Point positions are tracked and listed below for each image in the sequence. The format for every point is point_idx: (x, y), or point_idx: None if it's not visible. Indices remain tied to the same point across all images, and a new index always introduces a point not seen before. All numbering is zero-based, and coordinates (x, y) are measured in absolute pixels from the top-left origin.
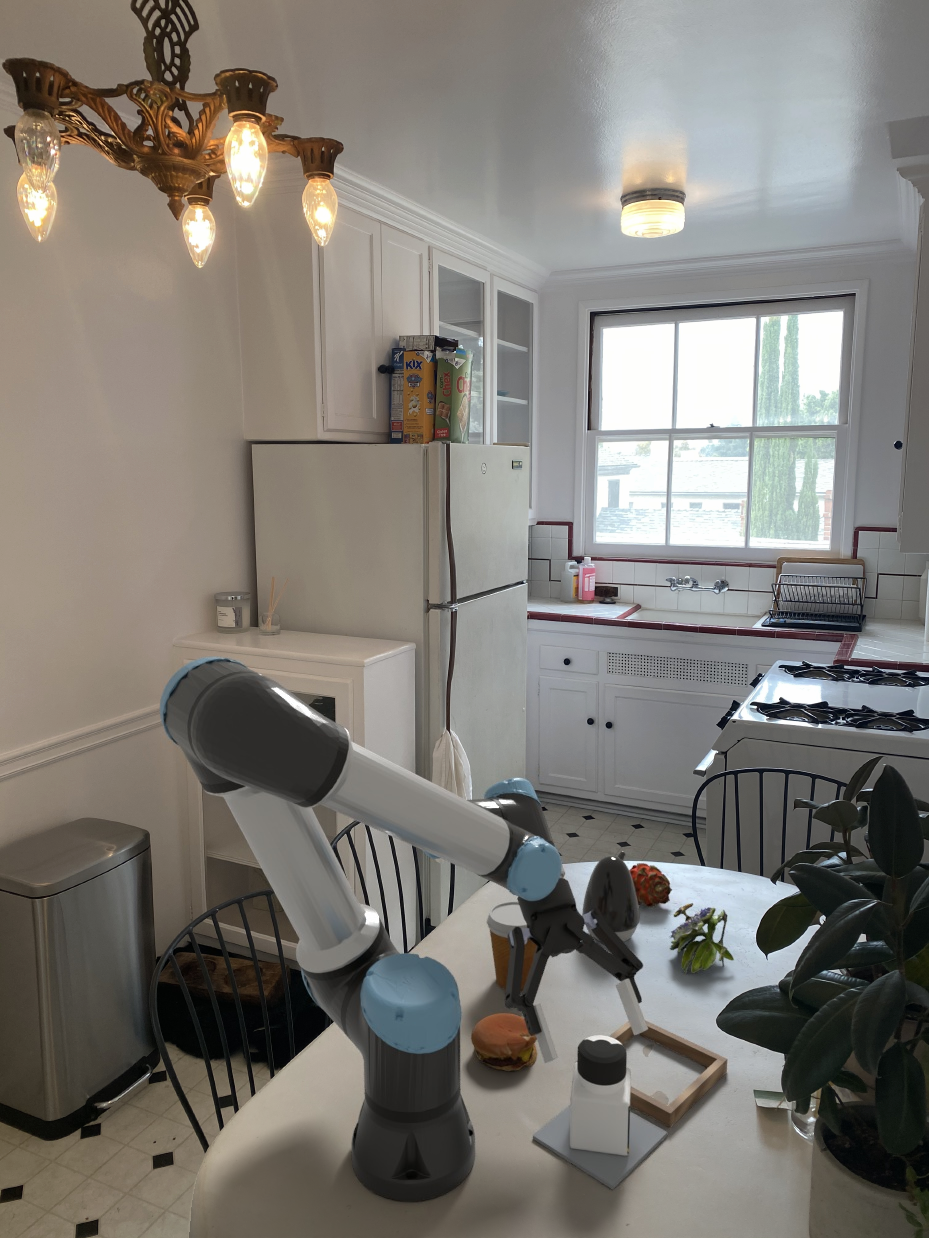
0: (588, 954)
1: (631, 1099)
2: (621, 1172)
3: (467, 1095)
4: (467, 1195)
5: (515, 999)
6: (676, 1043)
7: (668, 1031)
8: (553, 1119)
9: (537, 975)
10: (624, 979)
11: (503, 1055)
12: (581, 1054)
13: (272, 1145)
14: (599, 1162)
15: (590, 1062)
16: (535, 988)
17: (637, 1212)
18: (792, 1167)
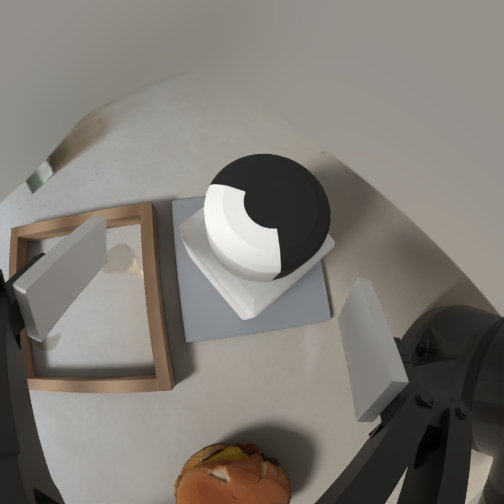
0: (39, 457)
1: (158, 273)
2: None
3: (341, 441)
4: (434, 292)
5: (463, 408)
6: None
7: None
8: (284, 326)
9: (383, 472)
10: (17, 311)
11: (275, 465)
12: (327, 226)
13: None
14: None
15: (325, 196)
16: (399, 429)
17: (302, 154)
18: (121, 101)
